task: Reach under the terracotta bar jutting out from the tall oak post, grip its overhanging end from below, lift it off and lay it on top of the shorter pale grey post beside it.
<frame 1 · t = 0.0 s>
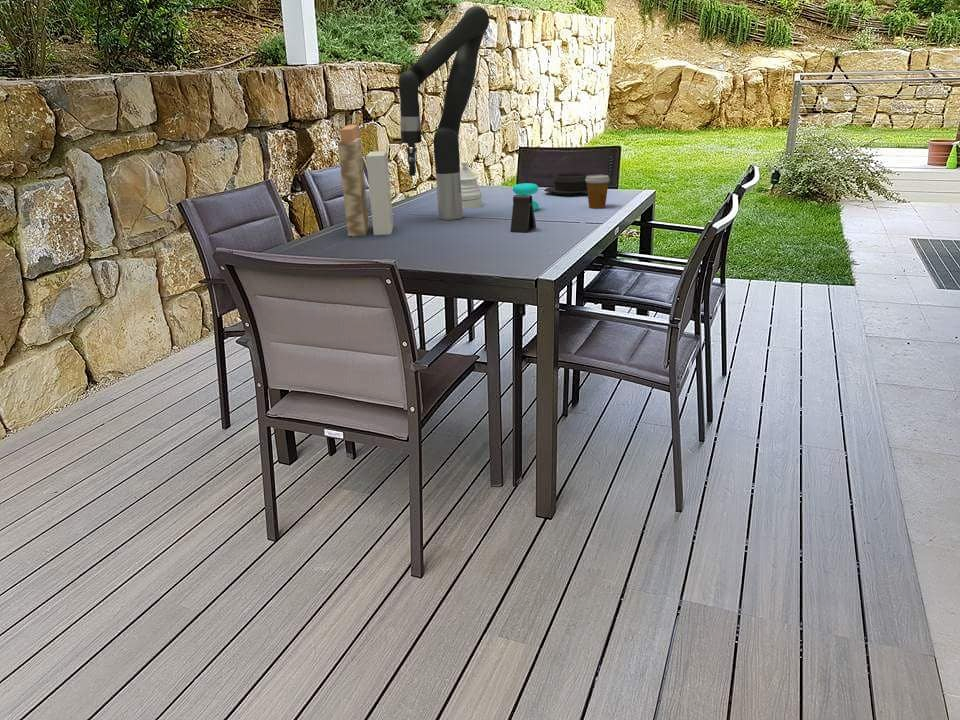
hand: (412, 174, 280), 17 cm above the table, tool pointing down, fingers open, 8 cm apart
terracotta bar: (351, 138, 263), point 32 cm above the table, touching oak post
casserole: (572, 194, 328), on the table
disposable coffee cup: (597, 207, 294), on the table
honey pot: (466, 206, 310), on the table
grey post: (383, 230, 270), on the table
donuts: (526, 210, 295), on the table
oak post: (359, 231, 270), on the table
door stopper: (523, 230, 260), on the table
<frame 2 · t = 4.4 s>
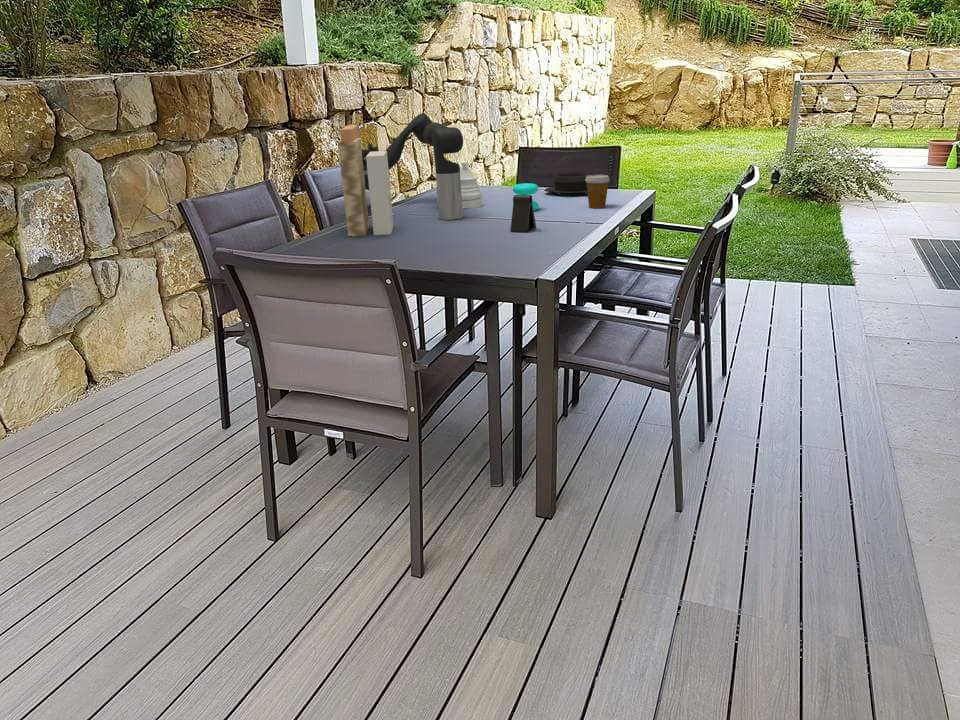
hand: (357, 145, 282), 28 cm above the table, tool pointing upward, fingers open, 8 cm apart
nothing on the table moved.
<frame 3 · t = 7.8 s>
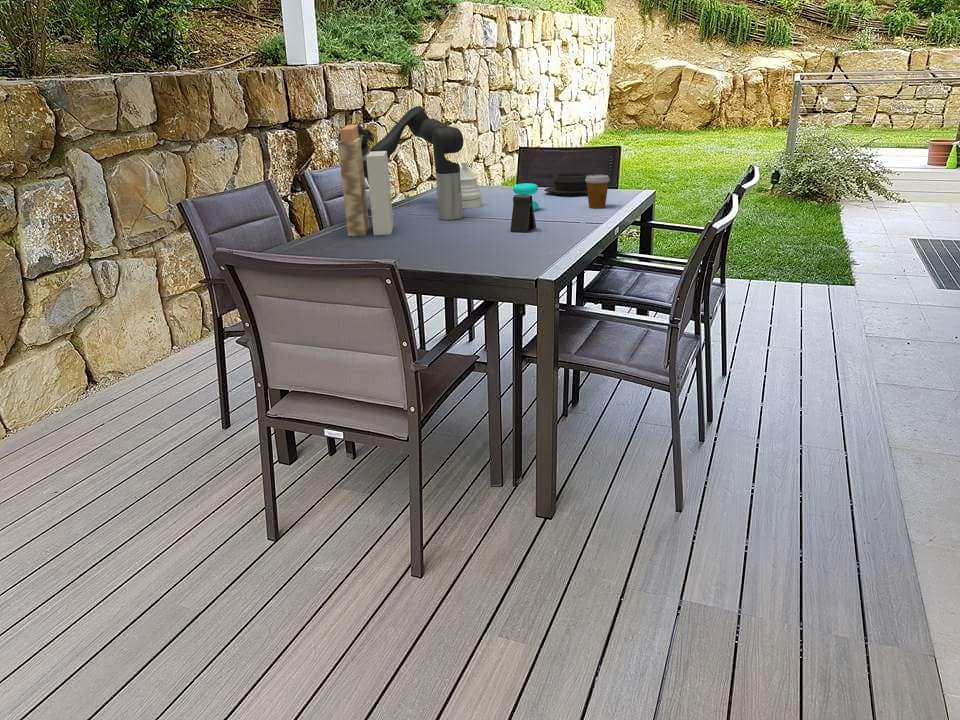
hand: (352, 127, 268), 35 cm above the table, tool pointing upward, fingers closed on terracotta bar, 4 cm apart
terracotta bar: (351, 138, 263), point 32 cm above the table, touching gripper, oak post
everything else where it was.
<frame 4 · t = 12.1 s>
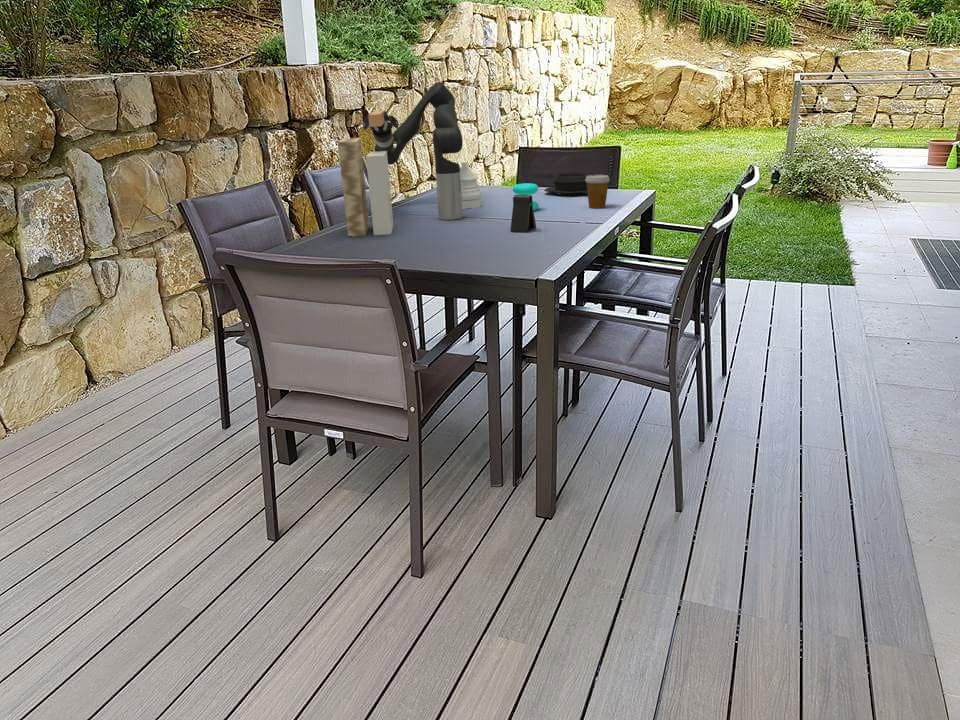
hand: (378, 113, 276), 39 cm above the table, tool pointing upward, fingers closed on terracotta bar, 4 cm apart
terracotta bar: (377, 124, 271), point 36 cm above the table, touching gripper
everything else where it was.
when the fingers open (31 cm above the table, at t = 16.4 s): terracotta bar stays where it is, resting on grey post.
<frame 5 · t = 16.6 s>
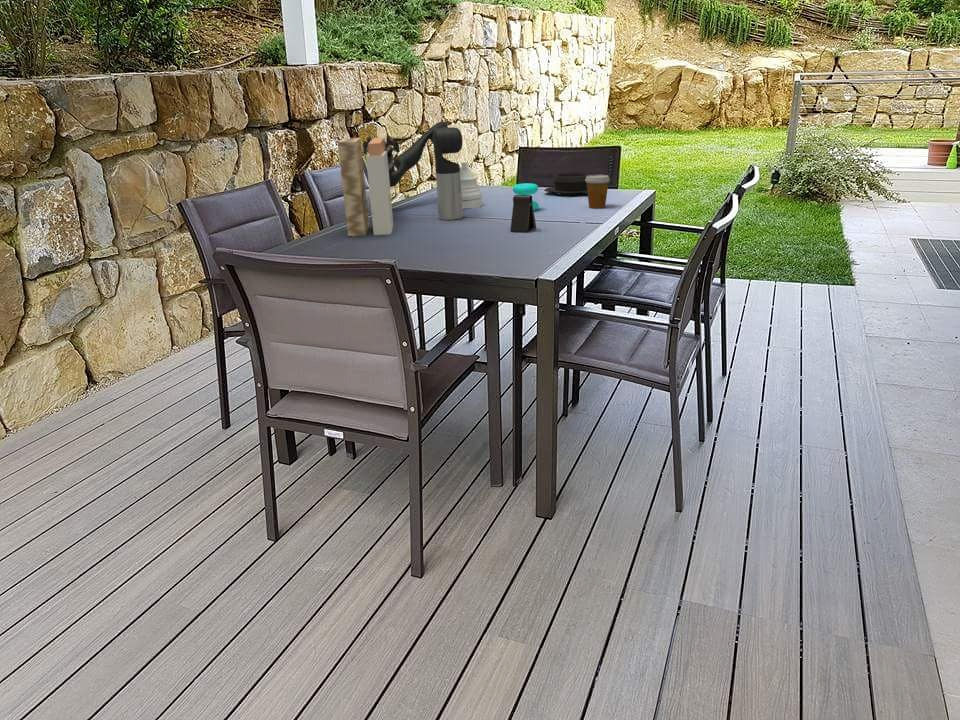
hand: (378, 138, 270), 31 cm above the table, tool pointing upward, fingers open, 6 cm apart
terracotta bar: (377, 152, 265), point 27 cm above the table, touching grey post
everything else where it was.
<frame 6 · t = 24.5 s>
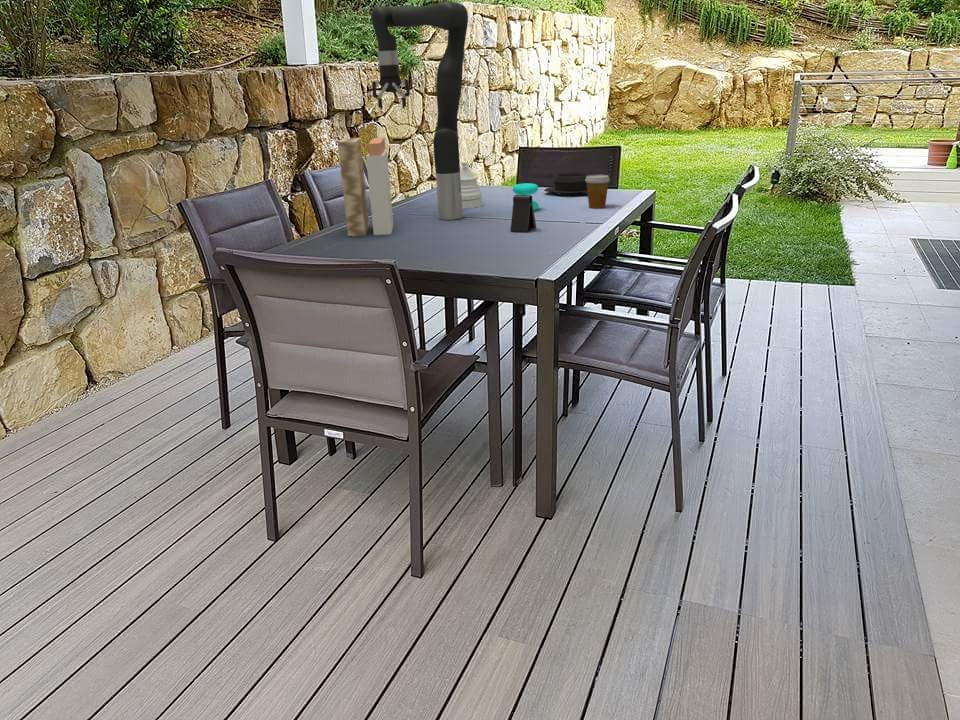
hand: (392, 108, 290), 40 cm above the table, tool pointing down, fingers open, 8 cm apart
nothing on the table moved.
at the end: terracotta bar 0.1 cm from the target spot on the grey post, point 27.0 cm above the grey post's base; terracotta bar tilted 0°; the gripper is holding nothing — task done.
